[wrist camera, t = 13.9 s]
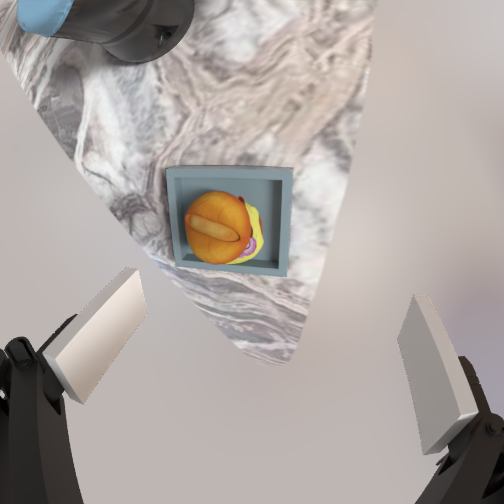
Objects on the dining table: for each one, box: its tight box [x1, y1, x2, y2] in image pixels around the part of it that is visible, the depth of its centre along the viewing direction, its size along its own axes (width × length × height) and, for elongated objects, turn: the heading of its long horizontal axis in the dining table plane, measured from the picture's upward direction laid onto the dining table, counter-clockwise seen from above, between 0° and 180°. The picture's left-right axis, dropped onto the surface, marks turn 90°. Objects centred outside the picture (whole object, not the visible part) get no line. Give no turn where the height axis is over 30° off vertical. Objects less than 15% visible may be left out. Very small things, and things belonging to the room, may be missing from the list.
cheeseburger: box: [185, 191, 264, 265], centre depth 39 cm, size 10×11×10 cm
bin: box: [166, 165, 293, 277], centre depth 41 cm, size 15×17×3 cm
